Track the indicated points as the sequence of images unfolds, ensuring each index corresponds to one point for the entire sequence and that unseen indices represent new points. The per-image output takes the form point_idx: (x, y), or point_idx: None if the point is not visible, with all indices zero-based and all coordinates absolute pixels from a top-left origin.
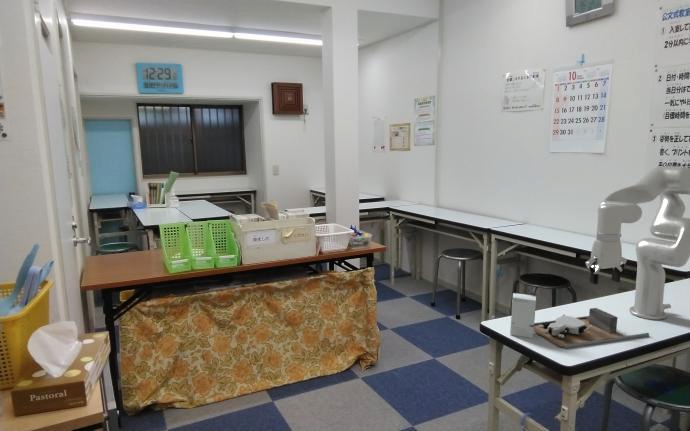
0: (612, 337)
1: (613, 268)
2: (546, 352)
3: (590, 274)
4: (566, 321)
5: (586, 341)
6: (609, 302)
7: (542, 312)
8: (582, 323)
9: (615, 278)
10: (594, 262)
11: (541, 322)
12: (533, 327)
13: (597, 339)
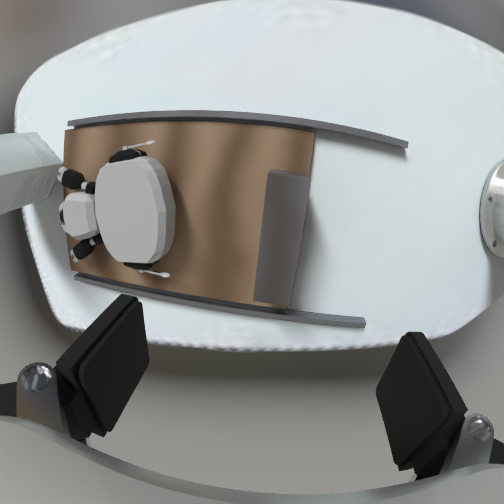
0: (240, 295)
1: (458, 437)
2: (47, 268)
3: (76, 340)
4: (110, 209)
5: (143, 279)
6: (500, 83)
7: (203, 17)
8: (144, 252)
9: (394, 387)
10: (32, 500)
11: (104, 118)
12: (26, 204)
13: (182, 284)
